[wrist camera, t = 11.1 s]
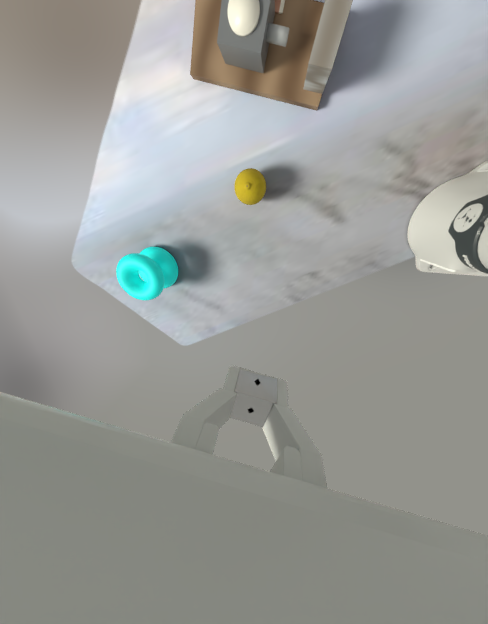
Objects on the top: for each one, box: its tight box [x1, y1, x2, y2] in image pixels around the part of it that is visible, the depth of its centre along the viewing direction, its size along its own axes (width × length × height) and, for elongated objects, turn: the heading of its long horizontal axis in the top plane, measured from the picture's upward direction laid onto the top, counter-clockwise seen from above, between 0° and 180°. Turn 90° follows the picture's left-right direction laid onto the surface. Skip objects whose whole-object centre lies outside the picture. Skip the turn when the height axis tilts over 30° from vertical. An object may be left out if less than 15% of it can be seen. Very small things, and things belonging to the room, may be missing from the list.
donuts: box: [116, 247, 178, 300], centre depth 47 cm, size 10×10×10 cm
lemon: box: [235, 168, 266, 205], centre depth 37 cm, size 6×6×8 cm
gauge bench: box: [190, 0, 353, 110], centre depth 29 cm, size 21×10×8 cm, turn 77°
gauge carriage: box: [217, 0, 289, 73], centre depth 28 cm, size 9×8×5 cm
